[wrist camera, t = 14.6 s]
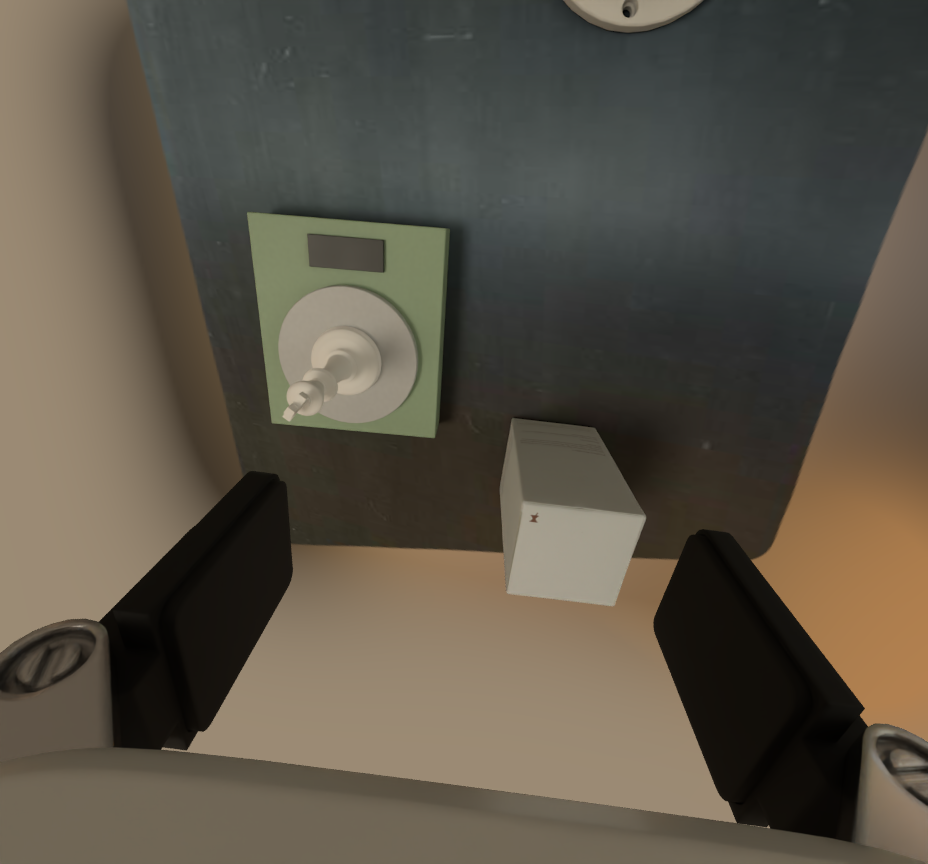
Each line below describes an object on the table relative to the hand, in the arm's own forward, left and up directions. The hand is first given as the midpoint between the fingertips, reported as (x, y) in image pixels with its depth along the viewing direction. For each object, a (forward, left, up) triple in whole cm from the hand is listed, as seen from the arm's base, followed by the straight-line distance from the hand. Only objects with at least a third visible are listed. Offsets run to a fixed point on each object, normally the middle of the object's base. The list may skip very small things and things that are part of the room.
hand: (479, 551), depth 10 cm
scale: (+1, -10, -26) cm, 27 cm away
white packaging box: (+11, +6, -26) cm, 29 cm away
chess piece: (+2, -10, -22) cm, 24 cm away
